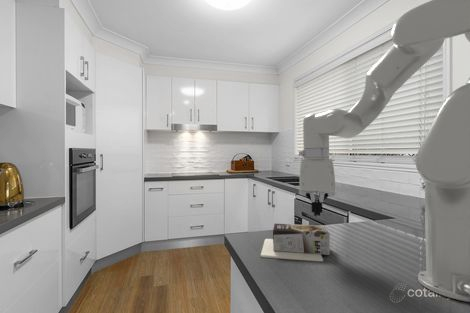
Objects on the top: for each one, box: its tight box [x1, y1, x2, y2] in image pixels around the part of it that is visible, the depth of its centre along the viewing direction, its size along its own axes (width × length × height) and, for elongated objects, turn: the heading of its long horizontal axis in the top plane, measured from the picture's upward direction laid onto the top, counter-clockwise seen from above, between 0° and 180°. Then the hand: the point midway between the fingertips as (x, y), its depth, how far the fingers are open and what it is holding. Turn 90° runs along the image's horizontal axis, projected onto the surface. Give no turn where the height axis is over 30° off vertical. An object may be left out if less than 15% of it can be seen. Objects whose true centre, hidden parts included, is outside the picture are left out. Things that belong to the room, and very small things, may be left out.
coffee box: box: [272, 223, 331, 256], centre depth 78 cm, size 9×6×16 cm
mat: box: [260, 238, 324, 262], centre depth 78 cm, size 16×17×1 cm
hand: (316, 214), depth 77 cm, fingers closed
